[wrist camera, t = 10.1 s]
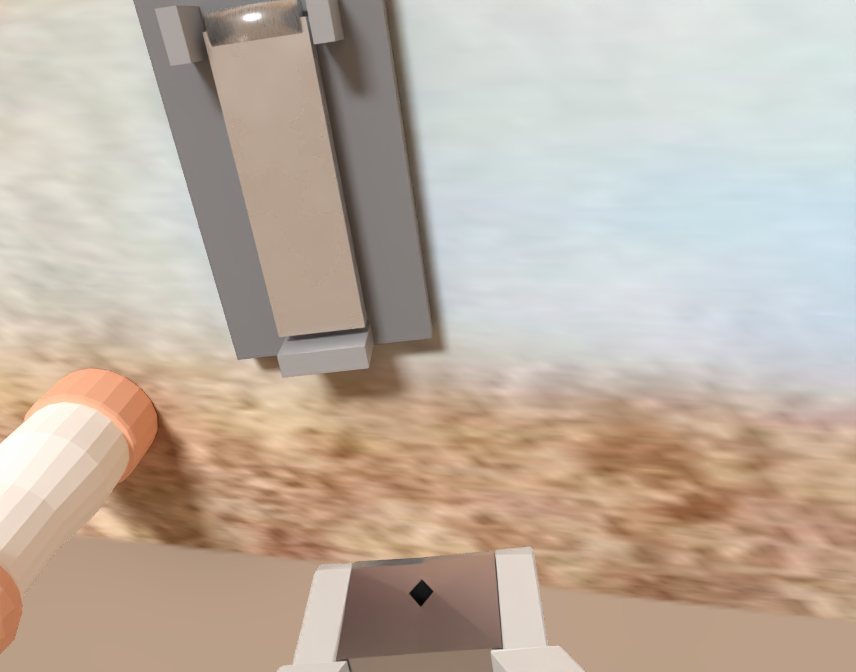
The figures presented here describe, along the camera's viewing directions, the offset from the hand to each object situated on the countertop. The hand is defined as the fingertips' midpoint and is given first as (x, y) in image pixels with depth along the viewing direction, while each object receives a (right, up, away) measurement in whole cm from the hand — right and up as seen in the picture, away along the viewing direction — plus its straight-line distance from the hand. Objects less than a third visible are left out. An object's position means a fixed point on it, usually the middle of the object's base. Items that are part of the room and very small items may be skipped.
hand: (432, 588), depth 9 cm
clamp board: (-7, +13, +29) cm, 32 cm away
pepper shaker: (-22, -2, +36) cm, 42 cm away
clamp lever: (-7, +12, +27) cm, 30 cm away
